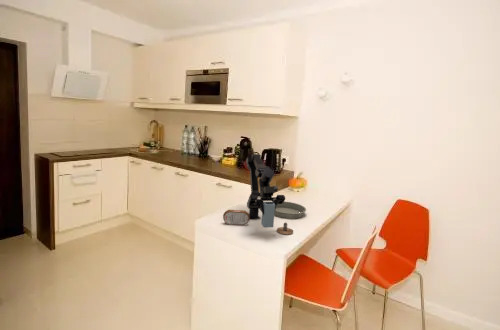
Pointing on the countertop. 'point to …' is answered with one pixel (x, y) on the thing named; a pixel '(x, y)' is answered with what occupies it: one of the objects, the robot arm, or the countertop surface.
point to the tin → (236, 217)
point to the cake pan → (289, 210)
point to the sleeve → (268, 214)
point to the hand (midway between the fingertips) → (268, 214)
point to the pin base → (289, 231)
